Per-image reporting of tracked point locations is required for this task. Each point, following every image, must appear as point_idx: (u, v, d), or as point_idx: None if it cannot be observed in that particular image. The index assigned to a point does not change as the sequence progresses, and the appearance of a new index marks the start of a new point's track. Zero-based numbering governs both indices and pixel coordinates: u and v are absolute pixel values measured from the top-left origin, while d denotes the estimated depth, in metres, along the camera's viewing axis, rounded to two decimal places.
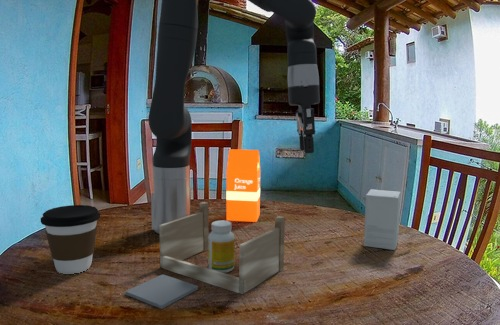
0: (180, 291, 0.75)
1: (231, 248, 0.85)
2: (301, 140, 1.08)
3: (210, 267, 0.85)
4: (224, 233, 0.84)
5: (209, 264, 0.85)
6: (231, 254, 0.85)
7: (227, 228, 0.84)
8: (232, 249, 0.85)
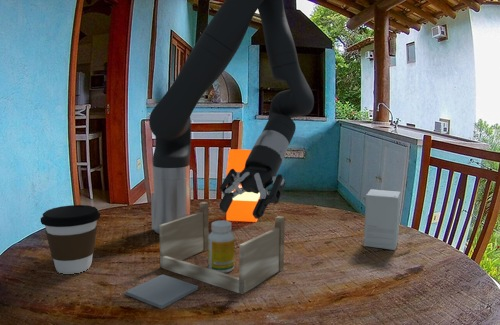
0: (180, 291, 0.75)
1: (231, 248, 0.85)
2: (227, 199, 0.93)
3: (210, 267, 0.85)
4: (224, 233, 0.84)
5: (209, 264, 0.85)
6: (231, 254, 0.85)
7: (227, 227, 0.84)
8: (232, 249, 0.85)
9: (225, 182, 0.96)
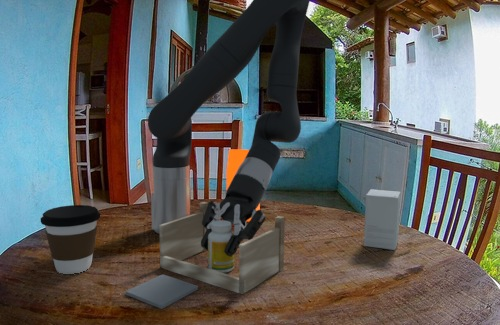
0: (180, 291, 0.75)
1: None
2: None
3: (210, 267, 0.85)
4: (224, 233, 0.84)
5: (209, 264, 0.85)
6: None
7: (227, 227, 0.84)
8: None
9: (206, 216, 0.90)
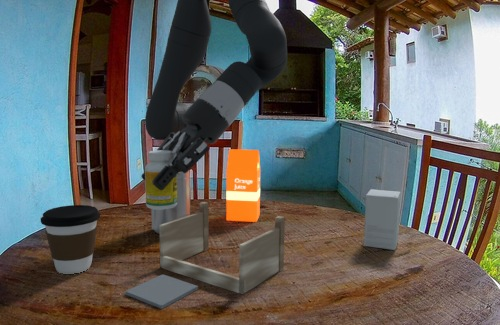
0: (180, 291, 0.75)
1: None
2: None
3: None
4: (159, 162, 0.71)
5: None
6: (165, 189, 0.71)
7: (161, 156, 0.70)
8: None
9: (160, 147, 0.78)
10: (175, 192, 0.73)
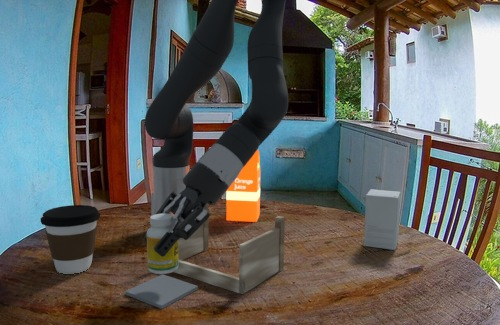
0: (180, 291, 0.75)
1: None
2: None
3: None
4: (160, 228, 0.72)
5: None
6: (167, 254, 0.72)
7: (163, 222, 0.72)
8: None
9: (161, 208, 0.79)
10: (176, 256, 0.74)
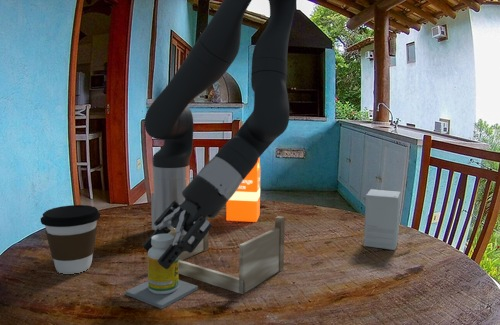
0: (180, 291, 0.75)
1: None
2: None
3: (148, 284, 0.75)
4: (161, 249, 0.73)
5: None
6: (167, 275, 0.73)
7: (164, 243, 0.73)
8: (169, 269, 0.73)
9: (161, 216, 0.81)
10: (177, 276, 0.75)
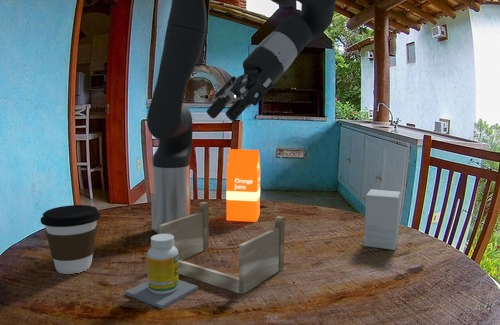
0: (180, 291, 0.75)
1: (168, 267, 0.73)
2: (216, 104, 0.86)
3: (148, 284, 0.75)
4: (160, 249, 0.73)
5: None
6: (167, 275, 0.73)
7: (163, 243, 0.73)
8: (169, 269, 0.73)
9: (222, 89, 0.89)
10: (176, 276, 0.75)
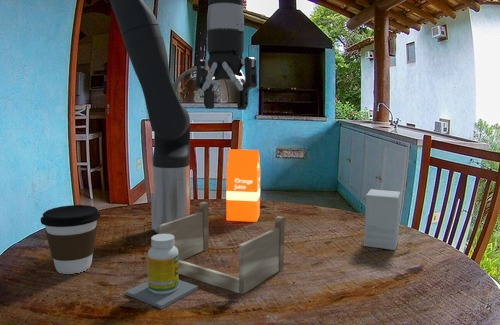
0: (180, 291, 0.75)
1: (168, 267, 0.73)
2: (208, 96, 0.91)
3: (148, 284, 0.75)
4: (161, 249, 0.73)
5: None
6: (167, 275, 0.73)
7: (164, 243, 0.73)
8: (169, 269, 0.73)
9: (198, 78, 0.91)
10: (177, 276, 0.75)
